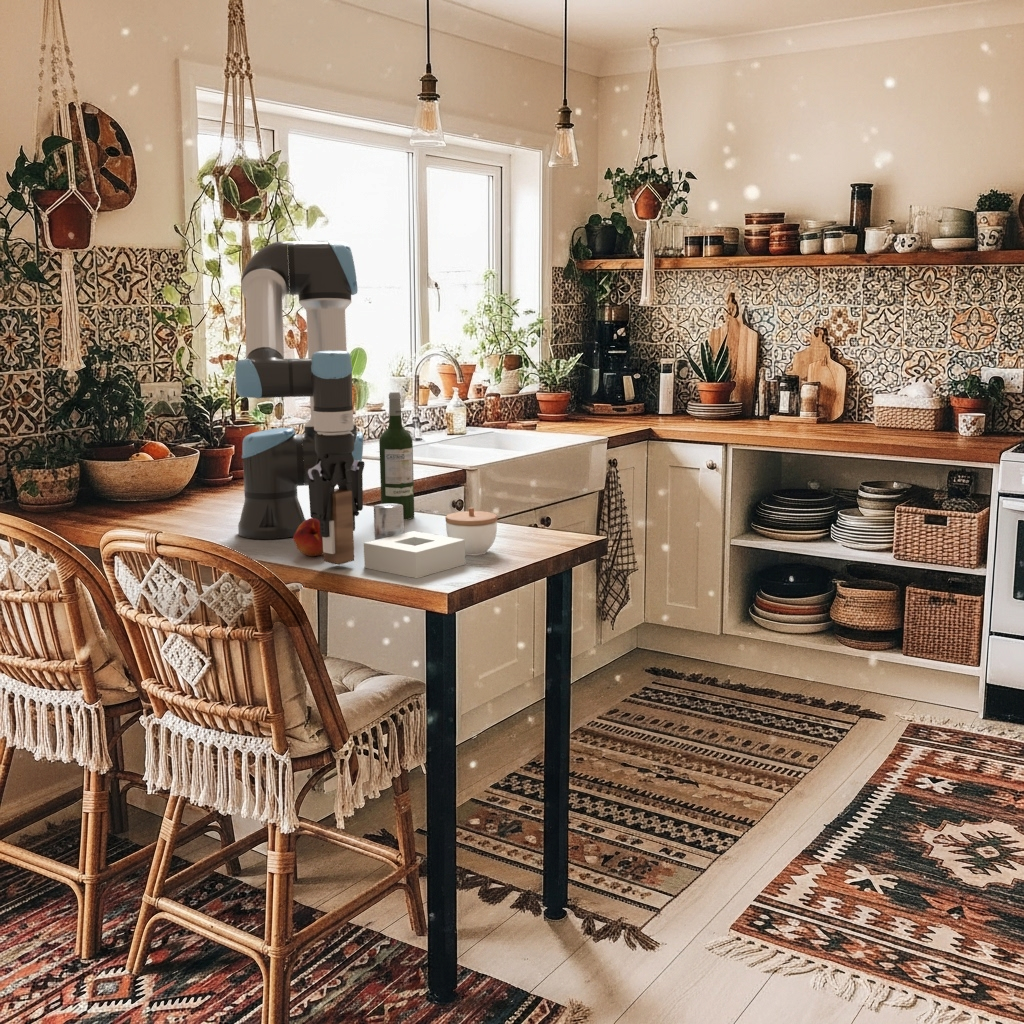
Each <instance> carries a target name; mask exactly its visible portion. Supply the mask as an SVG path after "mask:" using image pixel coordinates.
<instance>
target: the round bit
mask: <svg viewBox="0 0 1024 1024" xmlns="http://www.w3.org/2000/svg"><path fill="white" fill-rule="evenodd" d="M373 521H374V522H373V525H374V526H373V527H374V532H373V533H374V540H378V539H382V538H386V537H391V536H395V535H399V534H403V533H405V532H404V531H405V530H404V529H405V528H404V525H405V524H404V520H403V505H401V504H393V503H388V504H381V503H379V504H375V505H373Z"/></svg>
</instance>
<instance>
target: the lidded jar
mask: <svg viewBox="0 0 1024 1024" xmlns="http://www.w3.org/2000/svg"><path fill="white" fill-rule="evenodd" d="M445 522H446V523H445V527H446V529H445V530H446V537H452V538H457V539H463V540H465V556H467V557H468V556H471V557H472V556H481V555H485V554H487V551H489V549H490V548H491V547H492V546H493V545H494V543H495V541H496V537H497V530H498V515H497V514H496V513H493V512H490V511H482V510H479V511H478V510H475V508H474V507H468V511H467V510H466V511H465V510H464V511H456V512H451V513H448V514H447V515H446V516H445Z"/></svg>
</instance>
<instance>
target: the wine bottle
mask: <svg viewBox="0 0 1024 1024" xmlns="http://www.w3.org/2000/svg"><path fill="white" fill-rule="evenodd" d="M401 397H402V395H401V393H400V392H399V391H390V392H389V394H388V399H389V400H388V401H389V402H388V403H389V404H388V406H389V409H388V413H389V415H388V426H387V429H385V430H384V431H383V433H382V434H381V435H380V437H379V442H378V444H379V473H380V474H379V475H380V476H379V477H380V478H379V479H380V504H388V503H393V504H401V505H403V521H404V519H407V520H411V519H413V518H415V489H414V483H415V482H414V449H413V448H414V447H413V442H414V441H413V437H412V436H411V433H409V432H408V431H407V430H406V429H405V428H404V426H403V421H402V419H403V418H402V408H401V405H402V404H401ZM410 518H411V519H410Z"/></svg>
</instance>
